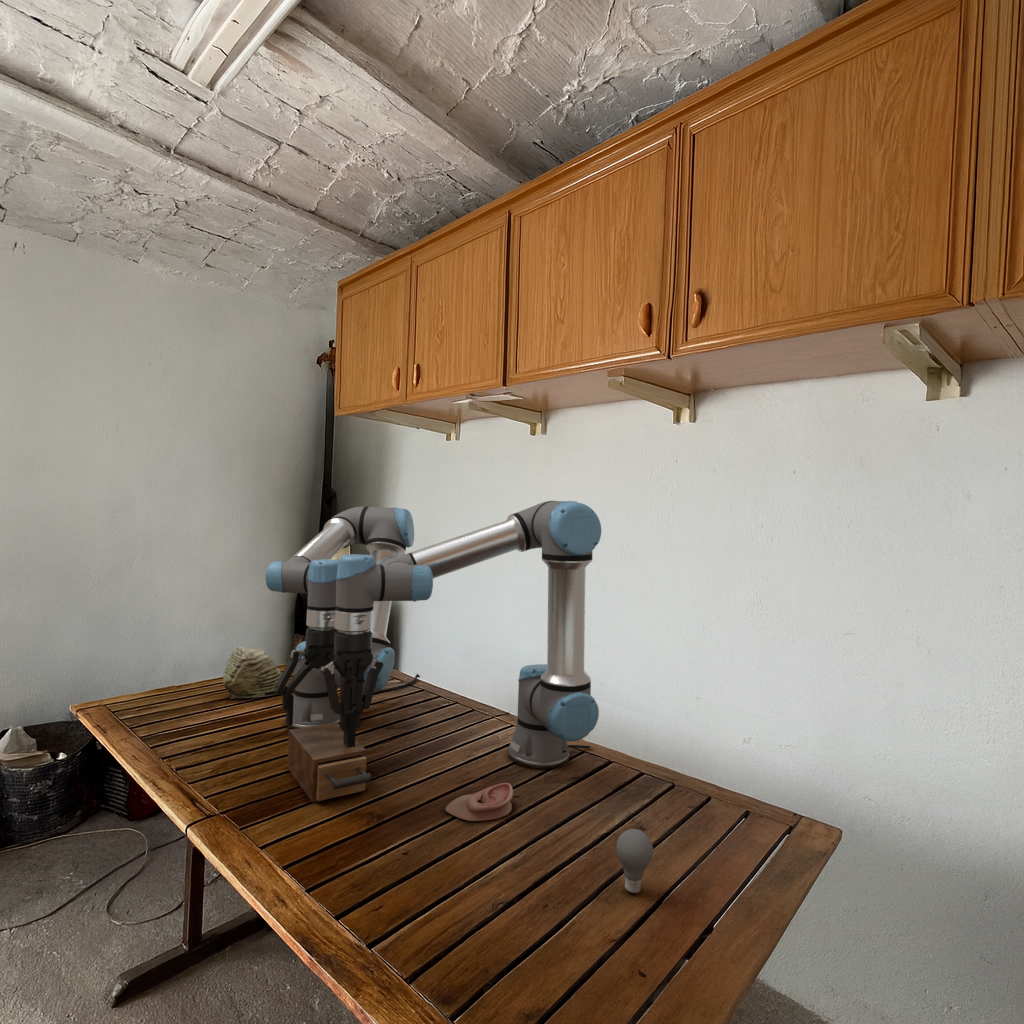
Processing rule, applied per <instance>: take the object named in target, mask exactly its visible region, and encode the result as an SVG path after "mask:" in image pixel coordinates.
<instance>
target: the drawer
mask: <svg viewBox="0 0 1024 1024" xmlns="http://www.w3.org/2000/svg"><path fill="white" fill-rule="evenodd" d="M371 781H372V775H371V773H370V772H367V756H366V757H365V756H363V757H358V756H354V757H349V758H344V759H339V760H333V761H328V762H323V763H318V772H317V798H316V799H317V800H318V801H317V802H321V801H326V800H329V799H334V798H339V797H343V796H348V795H352V794H357V793H360V792H364V791H366V786H367V785H366V783H370V782H371Z"/></svg>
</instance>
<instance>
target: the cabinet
mask: <svg viewBox="0 0 1024 1024" xmlns="http://www.w3.org/2000/svg"><path fill="white" fill-rule="evenodd" d="M287 742H288V745H287V770H288V771H289V772H290V773H291V775H292V777H293V778H294V779H295V780H296V782H297V783H298V785H299V786H300V788H301V789H302V791H303V792H304V793H305V795H306V796H307V798H308V799H309V800H310V802H311V803H317V802H319V801H318V800H317V799H316V798H317V772H318V763H323V762H328V761H333V760H339V759H344V758H349V757H354V756H358V757H363V756H365V757H366V758H367V749H366V748H365V747H364V746H363V745H362V744H361V743H359V741H358V740H356V739H355V747H350V748H348V747H347V746H346V745H345V744H344V743H343V742H344V731H342V730H341V728H340V725H339V724H338V723H337V722H335V723H329V724H323V725H317V726H310V727H304V728H298V729H288V741H287Z"/></svg>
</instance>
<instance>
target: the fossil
mask: <svg viewBox="0 0 1024 1024" xmlns="http://www.w3.org/2000/svg"><path fill="white" fill-rule="evenodd" d="M282 673H283V672H281V669H279V668H278V667H277V665H276V663H275V662H274V660H273V659H272V658H271V657H270V656H269V655H268V654H267V653H266V652H265V650H264V649H263V648H260V647H258V648H251V647H247V646H246V647H245V646H238V647H237V648H236V649H235V650H233V651H232V653H231V656H230V657H229V659H228V660H227V663H226V666H225V668H224V671H223V675H222V676H223V677H222V685H223V687H224V688H225V690H226V691H228V693H229V698H230V699H250V698H264V697H271V696H275V695H278V694H277V693H276V692H275V691H274V688H275V686H276V684H277V682H278V680H279V678H280V676H281V675H282Z"/></svg>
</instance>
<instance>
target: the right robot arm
mask: <svg viewBox="0 0 1024 1024" xmlns="http://www.w3.org/2000/svg"><path fill="white" fill-rule="evenodd" d="M601 537H602V524H601V521H600V517H599V516H598V514H597V513H596V512H595V511H594V510H593V509H592V508H591V507H590V506H589V505H587V504H585V503H582V502H578V501H575V500H574V501H573V500H565V501H564V500H547V501H542V502H540V503H537V504H535V505H533V506H530V507H528V508H524V509H522V510H520V511H517V512H514V513H510V514H509V515H508V516H507V518H506V520H503V521H500V522H497V523H494V524H492V525H489V526H485V527H483V528H479V529H477V530H474V531H470V532H468V533H464V534H461V535H459V536H456V537H453V538H449V539H447V540H443V541H440V542H437V543H433V544H430V545H428V546H424V547H423V548H419V549H416V550H413V551H410V552H408V553H405V554H404V555H401V556H398V557H388V558H385V559H383V560H381V561H380V562H379V563H378V565H376V562H375V557H374V556H371V555H370V554H360V553H359V554H358V553H351V554H350V553H349V554H343V555H341V556H340V557H339V559H337V560H338V569H337V577H336V613H335V629H336V630H338V631H336V632H335V636H334V654H333V656H332V659H331V662H330V663H329V664H327V665H326V666H321V667H320V671H321V673H322V674H323V676H324V677H325V682H326V686H327V691H328V696H329V701H330V706H331V709H332V710H333V711H334V712H335V713H336V714H340V728H341V730H342V731H344V742H343V743H344V744H345V745H346V746H347V747H348V748H350V747H355V740H356V733H357V730H358V729H360V727H361V715H362V714H363V713H364V711H365V710H369V709H370V708H371V704H372V701H373V697H374V694H373V693H374V691H375V690H374V689H375V685H376V682H377V678H378V674H379V672H380V671H381V669H382V667H383V663H382V662H380V661H379V660H376V659H374V658H373V654H372V651H371V649H372V632H371V631H370V629H372V627H373V604H374V601H392V602H417V601H418V602H419V601H428V600H430V598H431V597H432V595H433V589H434V579H436V578H439V577H442V576H444V575H447V574H450V573H453V572H456V571H460V570H462V569H465V568H468V567H470V566H474V565H476V564H479V563H482V562H485V561H488V560H490V559H494V558H496V557H499V556H503V555H505V554H508V553H511V552H513V551H518V552H521V553H523V552H527V551H530V550H534V549H541V561H542V562H543V563H544V564H545V565H546V566H547V568H548V569H547V644H546V645H547V646H546V647H547V649H546V650H547V651H546V652H547V655H546V657H547V658H546V659H547V660H546V662H547V663H546V664H545V663H542V664H541V663H538V664H537V663H536V664H528V665H525V666H522V667H521V668H520V670H519V675H518V680H517V681H518V691H517V693H518V695H517V719H516V721H517V722H516V726H515V729H514V732H513V734H512V737H511V740H510V743H509V745H508V758H509V759H510V760H511V761H512V762H513V763H515V764H517V765H519V766H523V767H526V768H530V769H536V770H537V769H539V770H549V769H556V768H560V767H562V766H564V765H565V764H567V763H568V762H569V761H570V748H571V749H589V750H590V749H591V745H585V744H584V745H582V744H568V742H578V741H580V740H583V739H584V738H586V737H587V736H589V734H590V733H591V731H593V730H595V728H596V725H597V724H598V721H599V716H600V708H599V705H598V702H597V701H596V699H595V697H593V696H592V695H591V693H592V689H591V687H592V679H591V676H590V675H589V674H588V673H587V672H586V670H585V645H586V643H585V639H586V633H585V632H586V629H585V627H586V569H587V567H588V566H589V565H590V564H591V563H592V562H593V552H594V550H595V549H596V546H597V545H598V544H599V543H600V540H601ZM369 665H370V666H369ZM368 666H369V667H370V669H369V672H368V676H367V679H366V683H365V687H364V690H363V689H362V686H363V680H364V672H365V671H366V669H367V668H368ZM334 667H335V668H336V669H337V671H338V672H339V673H340V679H341V687H340V688H339V689H340V690H339V691H340V692H339V695H338V688H337V689H336V684H335V680H334V677H333V674H334ZM352 677H353V689H352V711H349V708H350V684H351V681H352ZM362 694H363V695H362ZM339 702H340V704H339Z"/></svg>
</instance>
